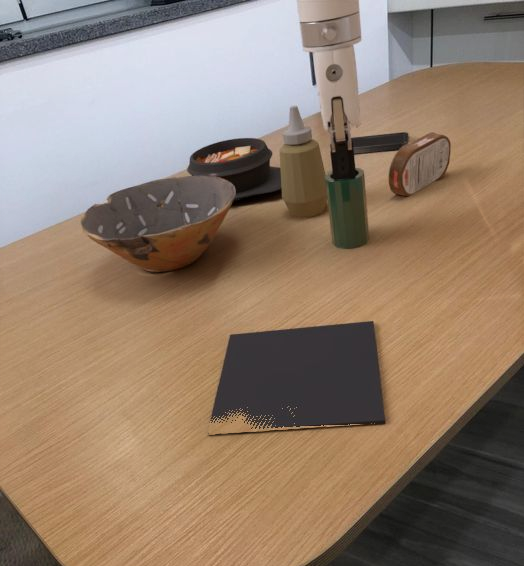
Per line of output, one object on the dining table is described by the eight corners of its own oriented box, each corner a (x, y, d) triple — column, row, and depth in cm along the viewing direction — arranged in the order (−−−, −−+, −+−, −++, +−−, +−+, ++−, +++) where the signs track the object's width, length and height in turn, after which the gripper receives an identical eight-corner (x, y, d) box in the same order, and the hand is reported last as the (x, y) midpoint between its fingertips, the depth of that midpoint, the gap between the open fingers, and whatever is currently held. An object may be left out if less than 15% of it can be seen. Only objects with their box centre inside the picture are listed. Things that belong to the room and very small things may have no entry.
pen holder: (368, 233, 94) (363, 165, 88) (370, 249, 90) (365, 178, 83) (332, 238, 95) (324, 170, 89) (333, 254, 91) (324, 183, 84)
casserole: (161, 212, 118) (149, 170, 113) (198, 177, 132) (189, 139, 127) (280, 208, 109) (273, 163, 104) (307, 171, 123) (302, 129, 118)
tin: (438, 172, 110) (438, 125, 106) (453, 174, 108) (454, 126, 103) (387, 202, 103) (385, 153, 98) (403, 205, 101) (401, 155, 96)
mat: (373, 324, 73) (373, 320, 73) (385, 424, 59) (385, 420, 59) (230, 337, 76) (230, 334, 76) (208, 435, 62) (207, 432, 62)
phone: (406, 143, 123) (334, 150, 127) (407, 148, 123) (334, 155, 128) (408, 131, 129) (339, 138, 133) (408, 136, 129) (339, 143, 134)
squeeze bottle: (296, 203, 110) (281, 101, 99) (337, 204, 106) (326, 98, 96) (277, 222, 104) (259, 115, 94) (321, 224, 100) (307, 113, 90)
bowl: (228, 294, 86) (213, 230, 80) (74, 303, 92) (50, 244, 86) (260, 221, 106) (249, 165, 100) (131, 232, 112) (115, 180, 106)
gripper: (363, 37, 69) (374, 191, 79) (357, 18, 82) (367, 152, 92) (298, 48, 70) (317, 198, 80) (303, 28, 83) (318, 159, 93)
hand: (344, 173), depth 86 cm, fingers closed on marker, 2 cm apart
